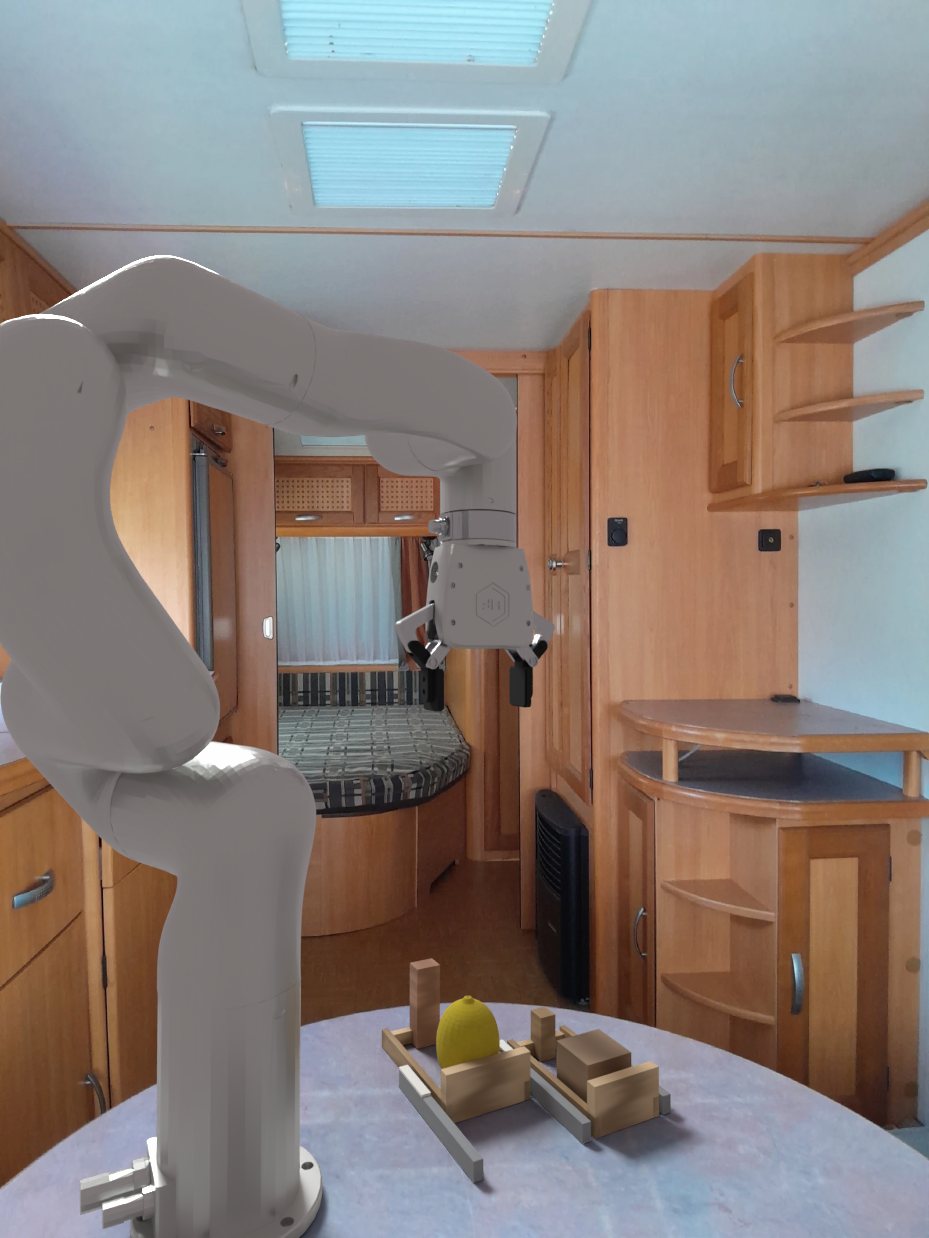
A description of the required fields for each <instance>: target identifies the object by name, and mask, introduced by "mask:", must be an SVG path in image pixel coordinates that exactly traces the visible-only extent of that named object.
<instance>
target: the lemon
mask: <svg viewBox="0 0 929 1238" xmlns="http://www.w3.org/2000/svg"><path fill="white" fill-rule="evenodd" d="M500 1040H501V1039H500V1032H499V1028H498V1024H497V1021H496V1018H495V1015H494V1013H493V1012H492V1010H491V1009H490V1008H489V1006H487V1005H486V1004H485V1002H482V1001H480V1000H479V999H476V998H474V997H472V995H464V997H463V998H460V999H459V998H458V999H457V1000H454V1001H453V1002H452V1003H451V1004H449V1006H447V1008H445V1010H444V1012H443V1013H442V1015H441V1016H440V1022H439V1025H438V1030H437V1037H436V1044H435V1047H436V1051H435V1052H436V1056H437V1061H438V1064H439V1066H440V1070H441V1069H444V1068H448V1067H451V1066H455V1065H459V1064H462V1063H466V1062H469V1061H473V1060H477V1059H480V1058H484V1057H487V1056H491V1055H494V1054H498V1053H499V1047H500Z"/></svg>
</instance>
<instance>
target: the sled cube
mask: <svg viewBox="0 0 929 1238" xmlns="http://www.w3.org/2000/svg"><path fill="white" fill-rule="evenodd" d="M575 1035H578V1033H576V1032H575V1031H573V1030H572V1029H571V1028H569V1027H568V1026H567V1025H565V1024H563V1025H559V1029H558V1030H557V1031H556V1013H555V1012H553V1011H552V1010H550V1009H549V1008H547V1007H546V1006H541V1007H537V1008H533V1009H530V1038H528V1039H524V1040H520V1041H516V1040H514V1039H513V1038H511V1039H508V1040H506V1043H507V1044H508V1045H509V1046H510V1047H511V1048H512V1049H516V1048H520V1047H523V1046H525V1047H526V1048H527V1049H528V1050H529V1051H530V1067H531V1068H532V1069H533V1070H534V1071H535V1072H537V1073H538V1074H539V1075H540V1076H541V1077H542V1078H543V1079H544V1080H545V1081H547V1082H548V1083H549V1084H550V1085H551V1086H552V1087H553V1088H554V1089H555V1090H557V1091H558V1092H559V1093H560V1094H561V1095H562V1096H563V1097H564V1098H566V1099H567V1100H568V1101H569V1102H570V1103H571V1104H572V1105H573V1106H574V1107H576V1108H577V1109H578V1110H579V1111H580V1112H581V1113H582V1114H583V1115H584V1116H586V1117H587V1118H588V1119H589V1120H590V1121H591V1138H592V1139H595V1140H596V1139H599V1138H602V1137H604V1136H607V1135H610V1134H613V1133H616V1132H618V1131H620V1130H624V1129H627V1128H630V1127H632V1126H635V1125H637V1124H640V1123H643V1122H646V1121H649V1120H652V1119H655V1118H656V1117H657V1118H658V1117H659V1116H660V1112H659V1086H660V1080H659V1079H660V1078H659V1077H660V1066H659V1065H657V1064H656V1063H654V1062H653V1061H652V1060H649V1061H645V1062H642V1063H638V1064H636V1065H632V1066H633V1067H629V1068H626V1069H623V1070H620V1071H617V1072H614V1073H610V1074H607V1075H604V1076H601V1077H598V1078H595V1079H591V1080H588V1081H587V1104H586V1103H585V1102H584V1101H583V1100H582V1099H581V1098H580V1097H578V1096H577V1095H576V1094H575V1093H574V1092H573V1091H572V1090H570V1089H569V1088H568V1087H567V1086H566V1085H565V1084H563V1083H562V1082H561V1081H560V1080H559V1079H558V1078H557V1076H555V1075H554V1073H552V1072H551V1071H550V1070H548V1069H547V1068H546V1067H545V1066H544V1065H543V1064H541V1063H542V1062H545V1061H548V1060H552V1059H555V1058H556V1059H557V1040H561V1039H564V1038H568V1037H571V1036H575ZM540 1062H541V1063H540Z"/></svg>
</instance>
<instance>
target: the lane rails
mask: <svg viewBox="0 0 929 1238" xmlns="http://www.w3.org/2000/svg"><path fill="white" fill-rule="evenodd" d="M509 1050H512V1048H511V1047H510V1046H509V1045H508V1044H507V1041H505V1040H504V1039H500V1047H499V1052H501V1053H502V1052H505V1051H509ZM398 1087H399V1089H400V1091H402V1093H404V1095H405V1096H406V1098H407V1099H408V1100H409V1102H410V1103H411V1104H412V1106H413V1107H414V1109H416V1111H417V1112H418V1113H419V1114H420V1116H421V1117H422V1119H423V1120H424V1121H425V1122H426V1124H427V1125H428V1126H429V1128H431V1130H432V1131H433V1133H434V1134H435V1135H436V1137H437V1138H438V1139H439V1140H440V1141H441V1143H442V1145H444V1147H445V1148H446V1150H448V1152H449V1154H450V1155H452V1157H453V1159H455V1161H456V1162H457V1163H458V1166H460V1168H461V1169H462V1170H463V1171H464V1173H465V1174H466V1176H467V1177H468V1178H469V1180H471V1182H472V1183H473V1184H475V1183H477V1182H480V1181H483V1180H484V1157H482V1155H481V1154H480V1153H479V1152H478V1150H477V1149H476V1148H475V1147H474V1146H473V1144H472V1143H471V1141H470V1140H469V1139H468V1138H467V1137H466V1136H465V1134H463V1133H462V1131H461V1130H460V1128H459V1126H457V1125H456V1123H453V1121H452V1120H451V1119H450V1118H449V1117H448V1115H447V1114H446V1113H445V1112H444V1111H443V1109H442V1108H441V1107H440V1106H439V1105H438V1103H437V1102H436V1101H435V1100H434V1098H433V1097H432V1096H431V1092H430V1091H429V1090H428V1088H427V1087H426V1086H425V1085H424V1084H423V1083H422V1081H421V1080H420V1079H419V1078H418V1077H417V1075H416V1074H415V1073H414V1072H413V1071H412V1069H411V1068H410V1067H409V1066H408V1065H405V1066H401V1067H398ZM530 1096H532V1097H533V1098H534V1099H535V1100H536V1101H537V1102H538V1103H539V1104H540V1105H541V1106H542V1107H544V1109H546V1110H547V1111H548V1112H549V1114H550V1115H552V1116H553V1117H554V1118H555V1119H556V1120H557V1121H558V1122H559V1123H560V1124H561V1125H562V1126H564V1128H566V1130H567V1131H568V1132H569V1133H570V1134H572V1135H573V1137H575V1139H577V1140H578V1141H579V1142H580V1143H581V1144H586V1143H588V1142H589V1143H590V1142H591V1141H592V1136H591V1121H590V1120H589V1119H588V1118H587V1117H586V1116H584V1115H583V1114H582V1113H581V1112H580V1111H579V1110H578V1109H577V1108H576V1107H574V1106H573V1105H572V1104H571V1103H570V1102H569V1101H568V1100H567V1099H566V1098H564V1097H563V1096H562V1095H561V1094H560V1093H559V1092H558V1091H557V1090H555V1089H554V1088H553V1087H552V1086H551V1085H550V1084H549V1083H548V1082H547V1081H545V1080H544V1079H543V1078H542V1077H541V1076H540V1075H539V1074H538V1073H537V1072H535V1071H534V1070H533V1069H532V1068H531V1067H530Z"/></svg>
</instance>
